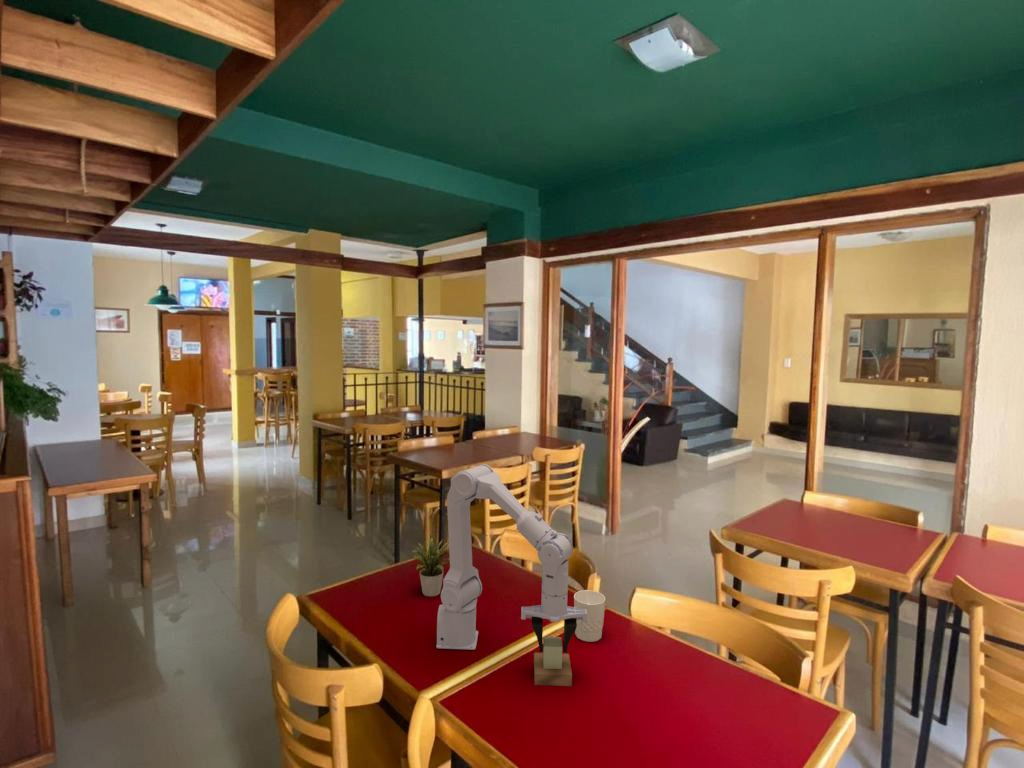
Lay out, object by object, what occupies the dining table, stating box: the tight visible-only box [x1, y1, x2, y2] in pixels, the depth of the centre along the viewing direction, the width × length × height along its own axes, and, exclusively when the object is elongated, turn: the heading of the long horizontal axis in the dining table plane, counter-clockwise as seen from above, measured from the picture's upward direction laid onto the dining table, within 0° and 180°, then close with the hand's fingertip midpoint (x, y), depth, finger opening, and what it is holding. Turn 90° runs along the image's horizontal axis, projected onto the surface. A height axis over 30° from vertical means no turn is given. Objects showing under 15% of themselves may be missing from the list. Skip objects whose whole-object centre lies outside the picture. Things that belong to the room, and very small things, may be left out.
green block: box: [542, 636, 563, 669], centre depth 119 cm, size 4×4×5 cm
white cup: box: [573, 589, 606, 643], centre depth 135 cm, size 8×8×10 cm
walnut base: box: [533, 652, 573, 687], centre depth 119 cm, size 8×8×3 cm
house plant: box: [412, 536, 450, 597], centre depth 155 cm, size 14×14×16 cm
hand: (552, 649), depth 119 cm, fingers open, 5 cm apart
